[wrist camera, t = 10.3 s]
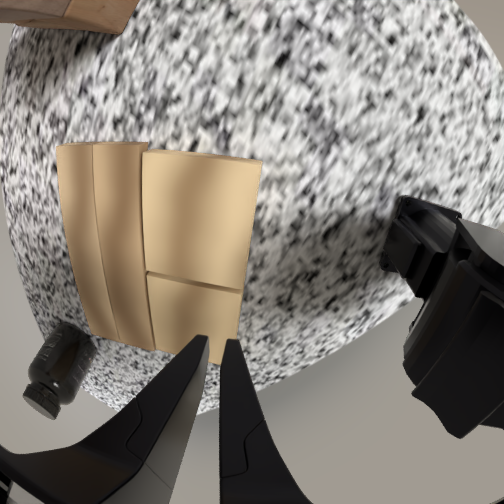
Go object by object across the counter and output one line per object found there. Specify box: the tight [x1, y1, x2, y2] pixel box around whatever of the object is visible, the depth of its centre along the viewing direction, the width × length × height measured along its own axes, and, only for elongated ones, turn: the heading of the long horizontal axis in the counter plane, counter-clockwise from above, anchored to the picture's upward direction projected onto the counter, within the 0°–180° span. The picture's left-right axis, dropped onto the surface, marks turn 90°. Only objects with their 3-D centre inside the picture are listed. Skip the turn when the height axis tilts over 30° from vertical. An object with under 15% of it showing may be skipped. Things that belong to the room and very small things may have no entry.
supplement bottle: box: [23, 323, 96, 420], centre depth 25 cm, size 7×7×12 cm
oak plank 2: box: [147, 271, 244, 365], centre depth 25 cm, size 8×10×2 cm
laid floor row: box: [56, 142, 156, 351], centre depth 22 cm, size 8×20×2 cm, turn 172°
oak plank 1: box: [142, 149, 262, 290], centre depth 20 cm, size 8×10×2 cm
